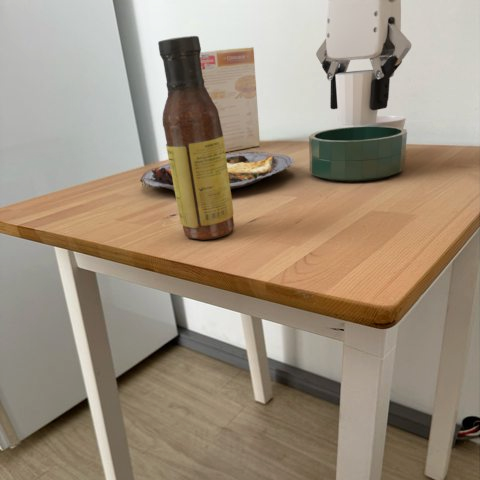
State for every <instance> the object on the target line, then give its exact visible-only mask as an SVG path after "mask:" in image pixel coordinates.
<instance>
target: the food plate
mask: <svg viewBox="0 0 480 480" xmlns="http://www.w3.org/2000/svg"><path fill="white" fill-rule="evenodd" d="M226 161H227V168H228V176H229V183H230V190H232V189H238V188H242V187H245V186H249V185H253V184H256V183H259V182H260V181H262V180H263V179H265V178H267V177H271V176H273V175H274V174H277V173H281V172H283V171H284V170H286V169H287V168H290V167H291V166H292V165H293V164H294V163H295V160H294V159H293V157H291V156H289V155H286V154H280V153H271V152H267V151H243V152H234V153H227V154H226ZM139 182H141V186H145V187H146V185H148V187H149V188H154V187H157V188H166V189H169V190H172V191H173V192H175V190H174V184H173V179H172V174H171V168H170V163H167V164H164V165H161V166H159V167H155V168H151V169H150V170H148V171H146V172H144V173H143V174H142V176H141V178H140V180H139Z"/></svg>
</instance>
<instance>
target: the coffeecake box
mask: <svg viewBox="0 0 480 480" xmlns="http://www.w3.org/2000/svg"><path fill="white" fill-rule="evenodd" d="M200 61H201V68H202V76H203V79H204V86H205V88H206V90H207V92H208V94H209V96H210V97H211V99H212V101H213V103H214V104H215V106H216V108H217V110H218V114H219V119H220V123H221V128H222V132H223V138H224V145H225V153H229V152H230V153H231V152H235V151H240V150H245V149H250V148H255V147H260V146H261V140H260V139H261V138H260V125H259V124H260V123H259V110H258V95H257V80H256V65H255V51H254V47H253V46H252V47H239V48H225V49H215V50H205V51H201V52H200Z"/></svg>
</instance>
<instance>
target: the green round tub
mask: <svg viewBox="0 0 480 480" xmlns="http://www.w3.org/2000/svg"><path fill="white" fill-rule="evenodd" d="M308 138H309V139H308V142H309V143H308V144H309V145H308V149H309V152H308V153H309V173H310V174H311V175H312V176H315V177H317V178H321V179H324V180H328V181H334V182H345V183H346V182H350V183H352V182H369V181H376V180H382V179H384V178H388V177H391V176H393V175H396V174H399V173H401V172H402V171H403V170H404V169H405V164H406V151H407V150H406V149H407V139H408V130H407V129H406V128H399V127H391V126H358V127H353V126H347V127H336V128H330V129H324V130H320V131H317V132H314V133H311V134H310V135H309V136H308Z"/></svg>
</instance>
